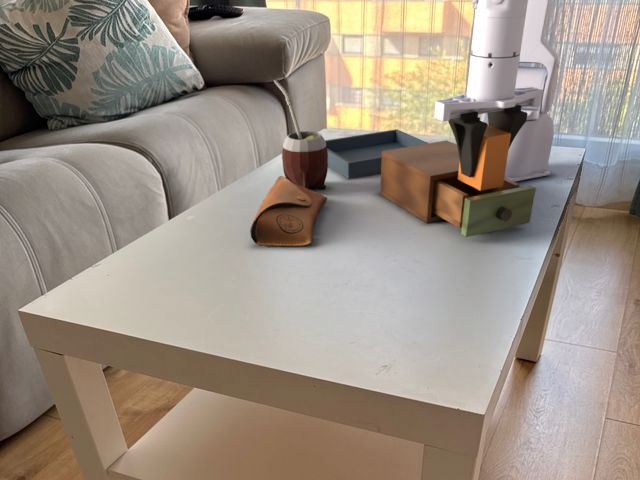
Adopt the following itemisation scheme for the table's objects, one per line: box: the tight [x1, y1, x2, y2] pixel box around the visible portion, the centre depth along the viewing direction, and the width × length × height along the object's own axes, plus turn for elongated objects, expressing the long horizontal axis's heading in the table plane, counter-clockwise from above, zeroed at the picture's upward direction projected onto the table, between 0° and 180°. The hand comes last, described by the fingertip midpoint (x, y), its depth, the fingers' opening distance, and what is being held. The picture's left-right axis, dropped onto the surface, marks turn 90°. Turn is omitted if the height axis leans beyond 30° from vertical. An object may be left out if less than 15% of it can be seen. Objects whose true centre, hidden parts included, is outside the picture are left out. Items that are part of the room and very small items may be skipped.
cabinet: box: [379, 140, 460, 224], centre depth 93 cm, size 13×11×6 cm
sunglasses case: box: [249, 175, 328, 248], centre depth 89 cm, size 18×7×7 cm
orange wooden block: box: [458, 125, 511, 191], centre depth 82 cm, size 4×5×6 cm
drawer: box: [432, 176, 537, 238], centre depth 86 cm, size 14×10×5 cm
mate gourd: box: [273, 78, 329, 191], centre depth 96 cm, size 8×8×15 cm
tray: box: [324, 128, 429, 180], centre depth 111 cm, size 17×14×2 cm
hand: (480, 172), depth 83 cm, fingers closed on orange wooden block, 3 cm apart
